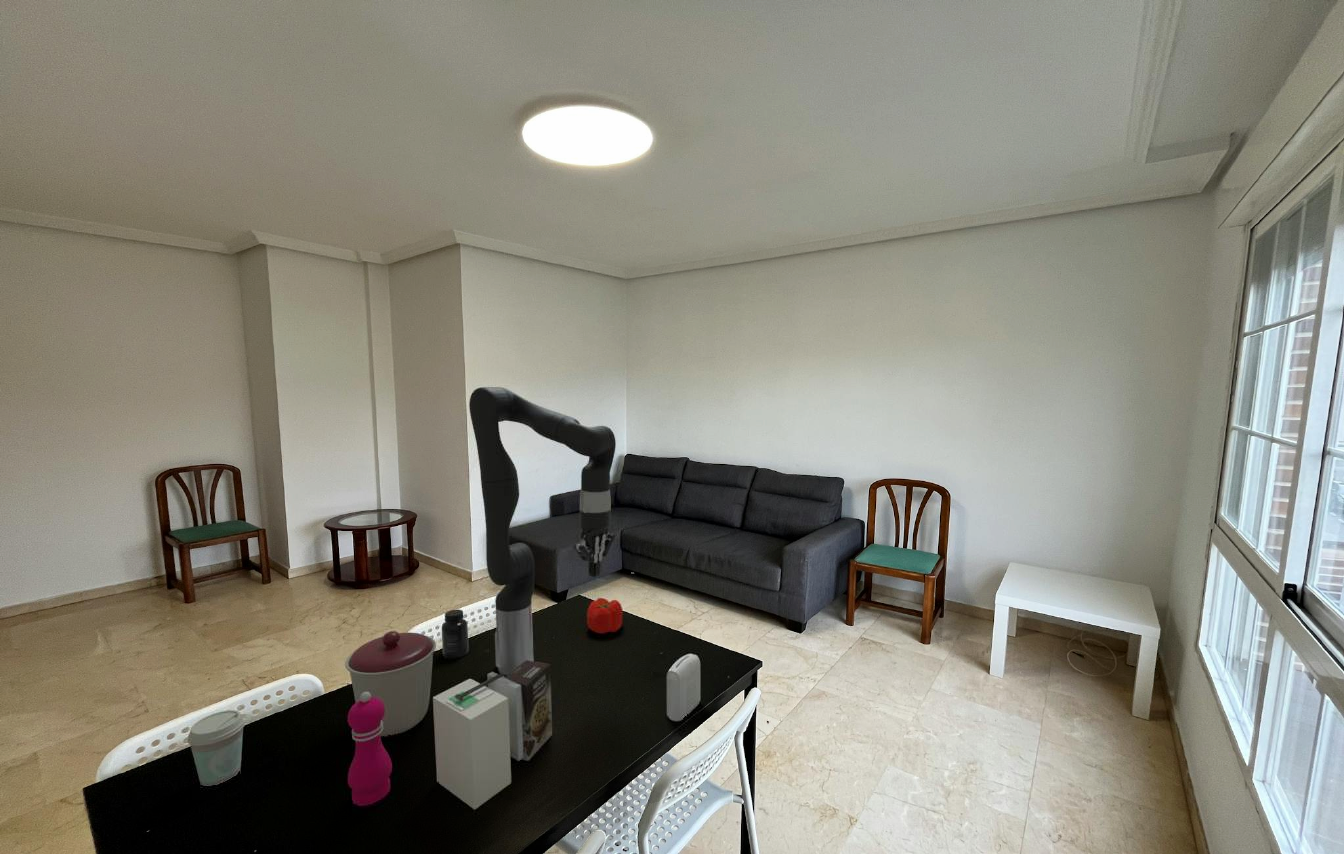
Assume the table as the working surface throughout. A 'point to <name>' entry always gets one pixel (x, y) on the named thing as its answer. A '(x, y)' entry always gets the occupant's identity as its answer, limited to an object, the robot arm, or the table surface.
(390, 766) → the pepper mill
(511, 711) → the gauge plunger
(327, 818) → the table surface
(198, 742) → the coffee cup
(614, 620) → the red bell pepper
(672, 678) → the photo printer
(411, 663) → the canister
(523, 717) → the coffee box
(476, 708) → the gauge housing
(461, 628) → the supplement bottle
